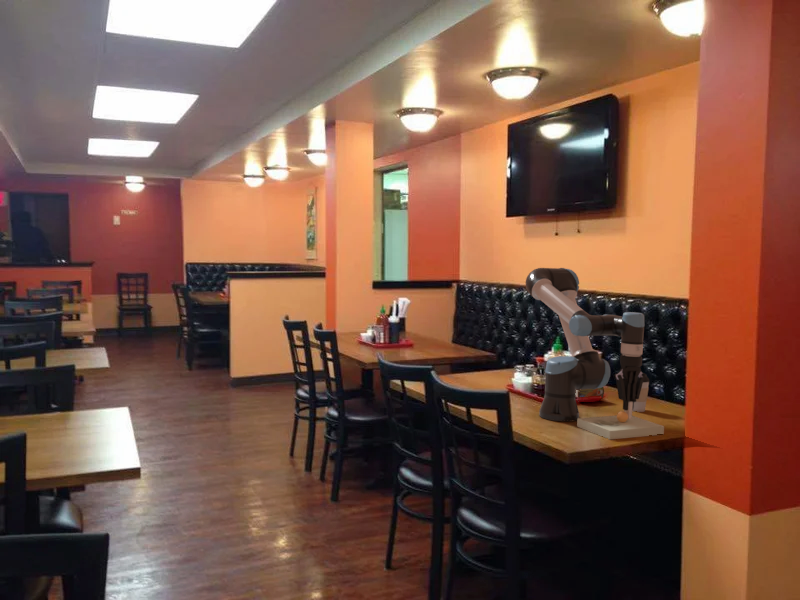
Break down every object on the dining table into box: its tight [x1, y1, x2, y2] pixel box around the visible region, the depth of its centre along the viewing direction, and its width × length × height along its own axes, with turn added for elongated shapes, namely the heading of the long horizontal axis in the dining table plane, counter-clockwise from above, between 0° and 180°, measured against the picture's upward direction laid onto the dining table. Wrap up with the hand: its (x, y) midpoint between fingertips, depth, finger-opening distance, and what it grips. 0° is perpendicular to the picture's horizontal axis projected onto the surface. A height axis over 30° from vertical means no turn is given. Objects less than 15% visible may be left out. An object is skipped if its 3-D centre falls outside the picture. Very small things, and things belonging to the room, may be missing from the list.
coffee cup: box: [632, 374, 651, 413], centre depth 272 cm, size 9×9×15 cm
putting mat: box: [576, 414, 665, 440], centre depth 238 cm, size 18×24×3 cm
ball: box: [616, 410, 628, 422], centre depth 238 cm, size 4×4×4 cm
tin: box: [578, 387, 605, 399], centre depth 285 cm, size 15×3×8 cm, turn 119°
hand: (627, 418), depth 239 cm, fingers closed
